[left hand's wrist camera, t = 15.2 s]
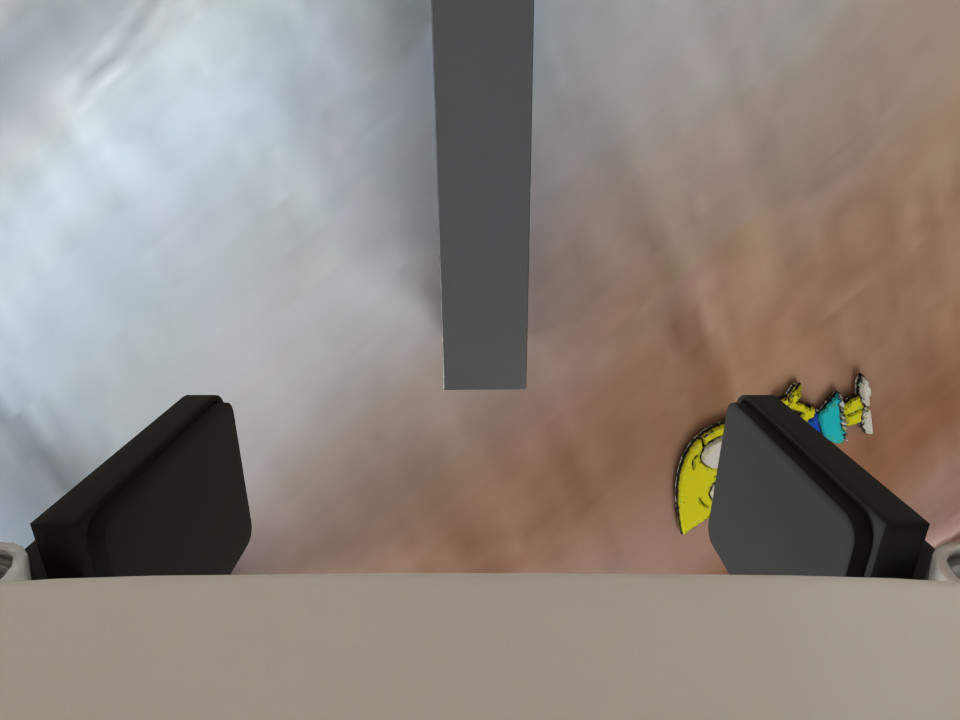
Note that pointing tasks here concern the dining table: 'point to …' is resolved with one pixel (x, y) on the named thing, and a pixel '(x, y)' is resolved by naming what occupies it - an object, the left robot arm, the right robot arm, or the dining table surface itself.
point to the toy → (704, 475)
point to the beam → (483, 187)
